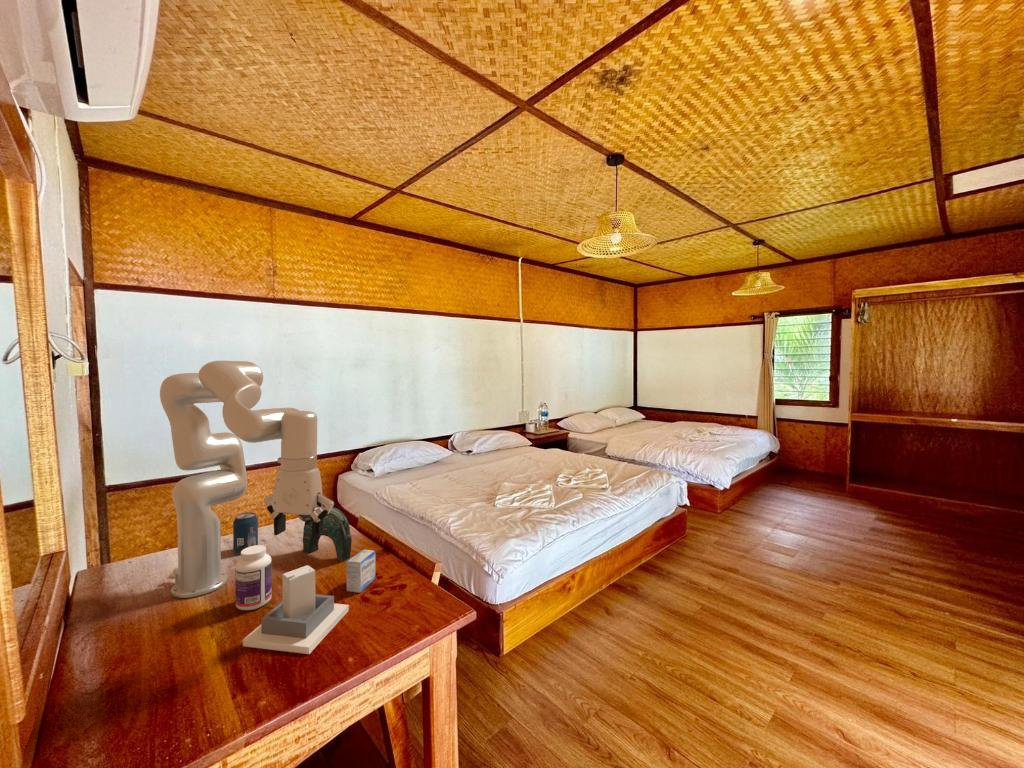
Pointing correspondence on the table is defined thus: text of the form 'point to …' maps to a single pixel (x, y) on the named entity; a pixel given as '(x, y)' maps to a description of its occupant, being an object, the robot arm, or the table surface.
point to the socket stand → (297, 627)
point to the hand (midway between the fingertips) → (298, 534)
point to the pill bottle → (253, 578)
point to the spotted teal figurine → (329, 533)
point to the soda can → (245, 531)
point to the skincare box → (299, 593)
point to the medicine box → (360, 571)
